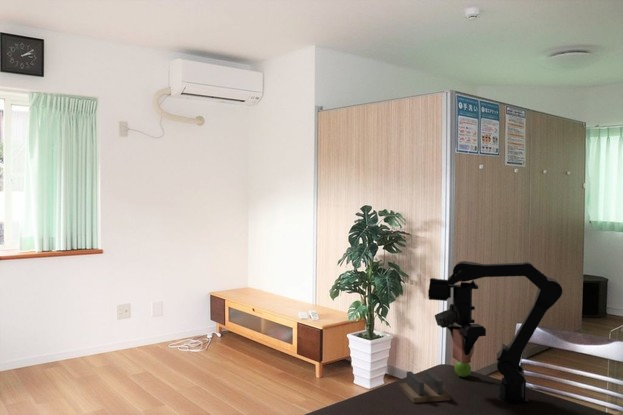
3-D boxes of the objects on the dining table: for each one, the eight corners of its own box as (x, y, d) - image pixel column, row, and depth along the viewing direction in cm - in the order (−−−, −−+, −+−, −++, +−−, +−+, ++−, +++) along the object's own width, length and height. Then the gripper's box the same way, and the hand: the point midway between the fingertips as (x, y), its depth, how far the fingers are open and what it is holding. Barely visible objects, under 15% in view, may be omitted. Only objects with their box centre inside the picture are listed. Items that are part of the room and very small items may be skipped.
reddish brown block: (461, 356, 165) (461, 328, 165) (470, 362, 159) (471, 333, 159) (452, 357, 165) (452, 329, 164) (461, 363, 159) (462, 334, 159)
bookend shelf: (433, 385, 168) (433, 368, 168) (450, 399, 156) (451, 381, 156) (398, 388, 165) (398, 371, 165) (413, 402, 154) (413, 384, 154)
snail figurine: (473, 380, 173) (473, 344, 173) (453, 377, 175) (454, 342, 175) (474, 375, 178) (475, 340, 178) (455, 372, 180) (455, 338, 180)
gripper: (425, 297, 169) (425, 344, 169) (452, 309, 151) (451, 362, 151) (457, 296, 171) (456, 343, 172) (487, 308, 153) (486, 360, 153)
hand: (461, 351), depth 162 cm, fingers closed on reddish brown block, 6 cm apart
